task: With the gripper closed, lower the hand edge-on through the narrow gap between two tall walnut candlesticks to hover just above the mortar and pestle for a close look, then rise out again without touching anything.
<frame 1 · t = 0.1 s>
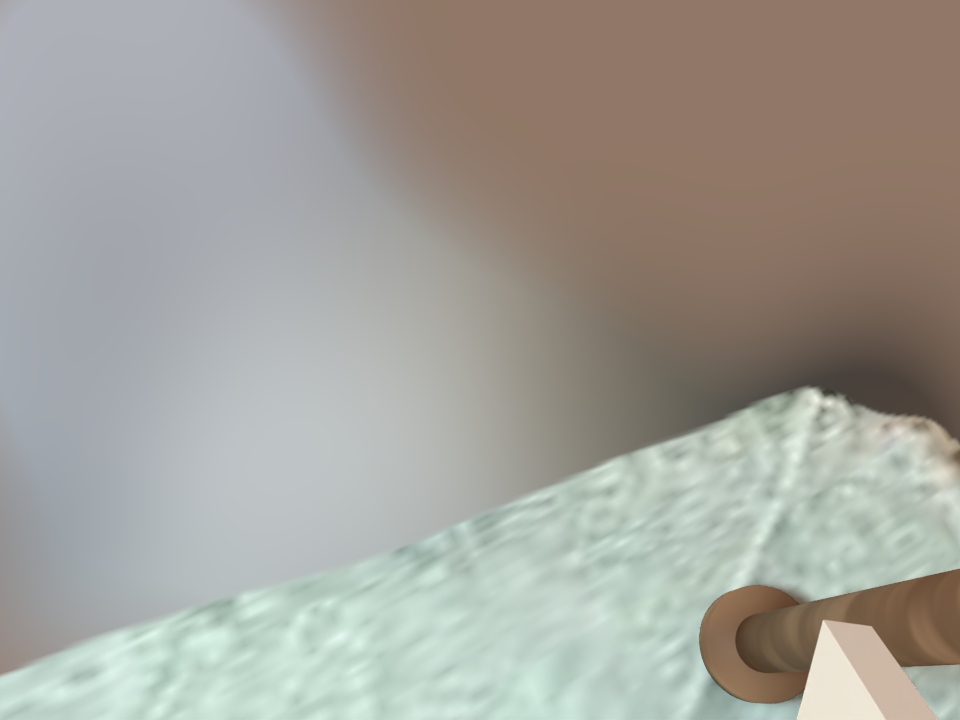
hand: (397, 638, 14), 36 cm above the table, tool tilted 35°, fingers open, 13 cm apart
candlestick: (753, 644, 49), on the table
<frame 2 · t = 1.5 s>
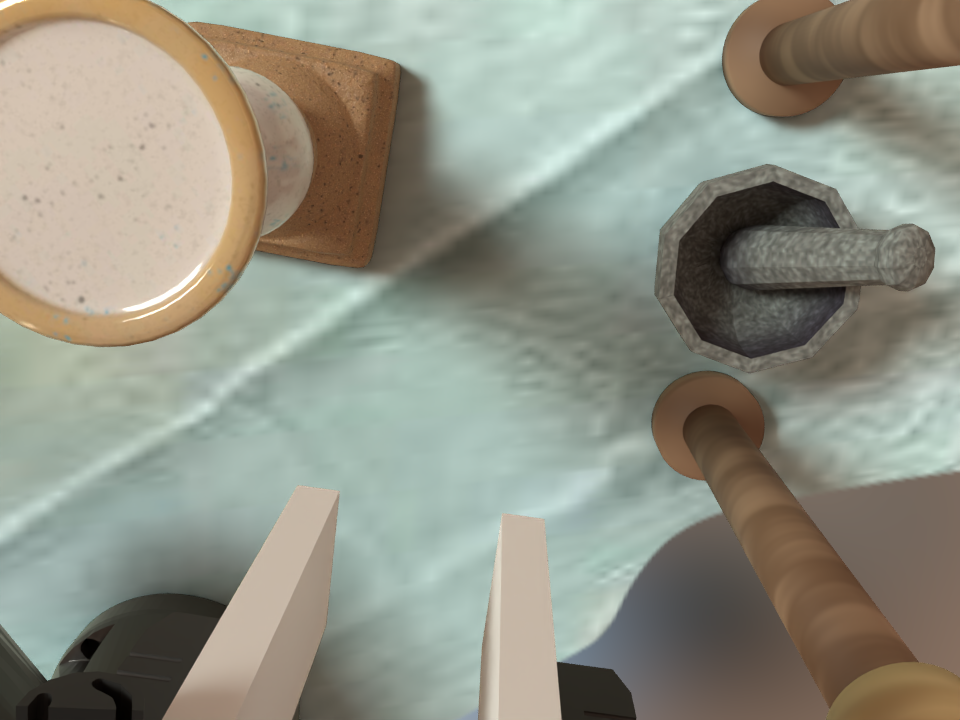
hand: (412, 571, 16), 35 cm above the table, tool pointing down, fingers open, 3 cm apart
candle holder: (287, 147, 48), on the table
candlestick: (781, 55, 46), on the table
mortar and pestle: (739, 247, 49), on the table
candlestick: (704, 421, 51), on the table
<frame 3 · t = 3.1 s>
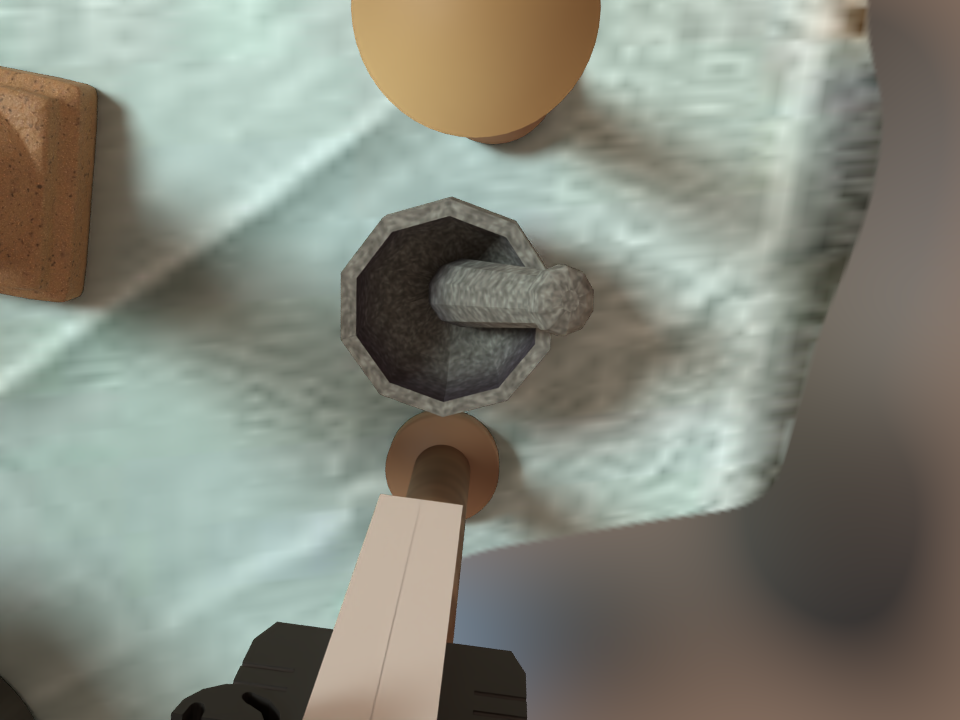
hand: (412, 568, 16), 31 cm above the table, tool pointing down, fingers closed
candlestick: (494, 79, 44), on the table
mortar and pestle: (467, 280, 47), on the table
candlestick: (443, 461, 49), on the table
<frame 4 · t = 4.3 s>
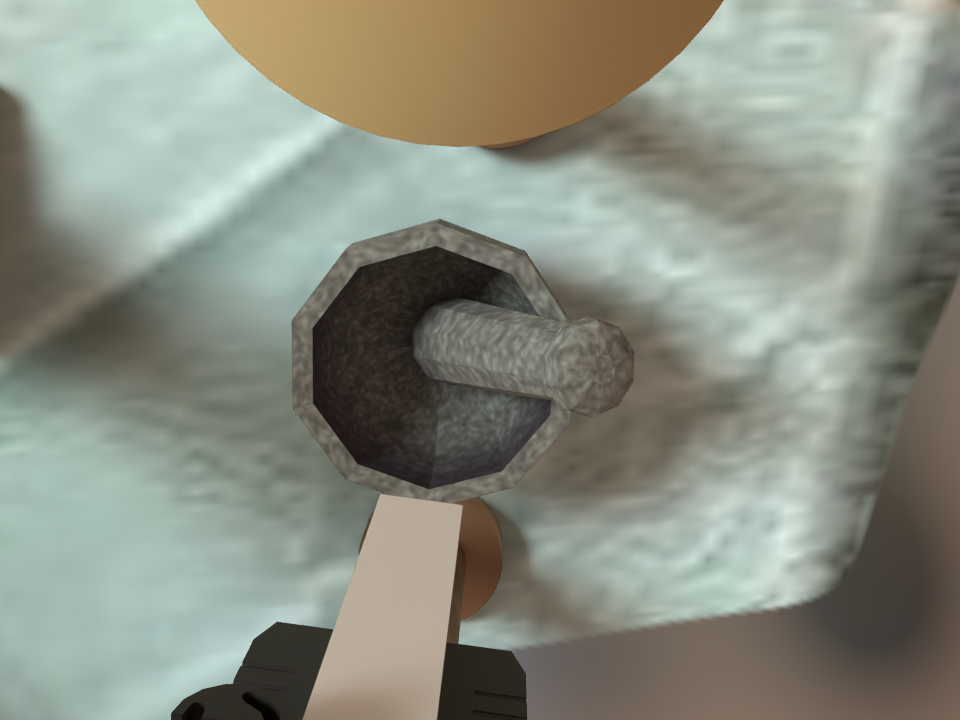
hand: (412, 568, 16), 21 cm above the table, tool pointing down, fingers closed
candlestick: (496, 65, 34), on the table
mortar and pestle: (462, 320, 37), on the table
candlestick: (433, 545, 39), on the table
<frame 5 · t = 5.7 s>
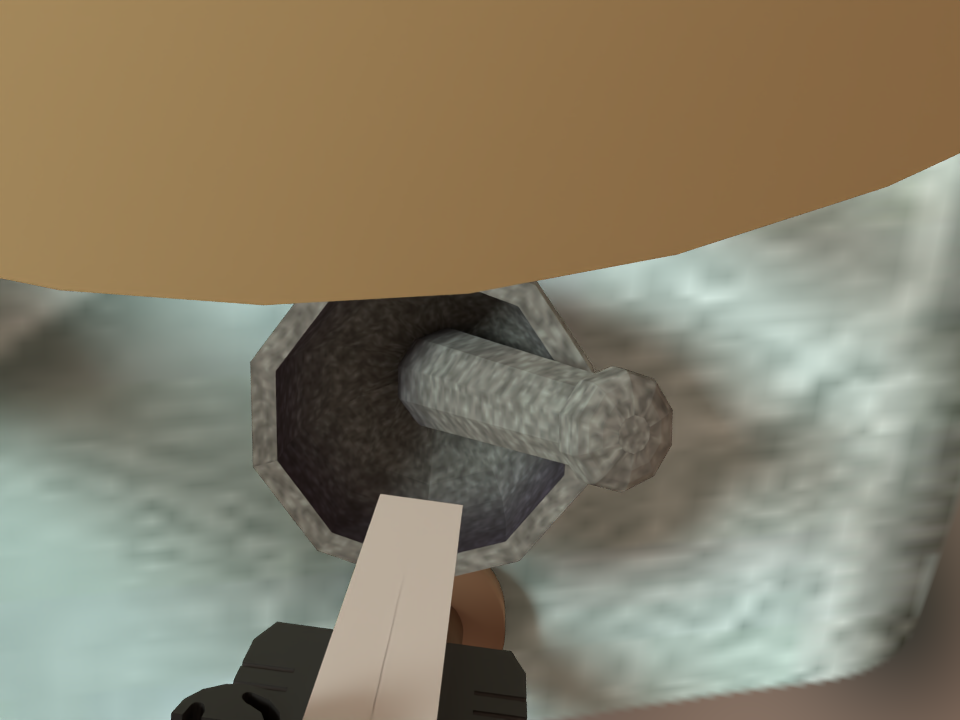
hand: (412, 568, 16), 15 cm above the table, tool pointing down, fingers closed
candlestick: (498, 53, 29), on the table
mortar and pestle: (459, 352, 31), on the table
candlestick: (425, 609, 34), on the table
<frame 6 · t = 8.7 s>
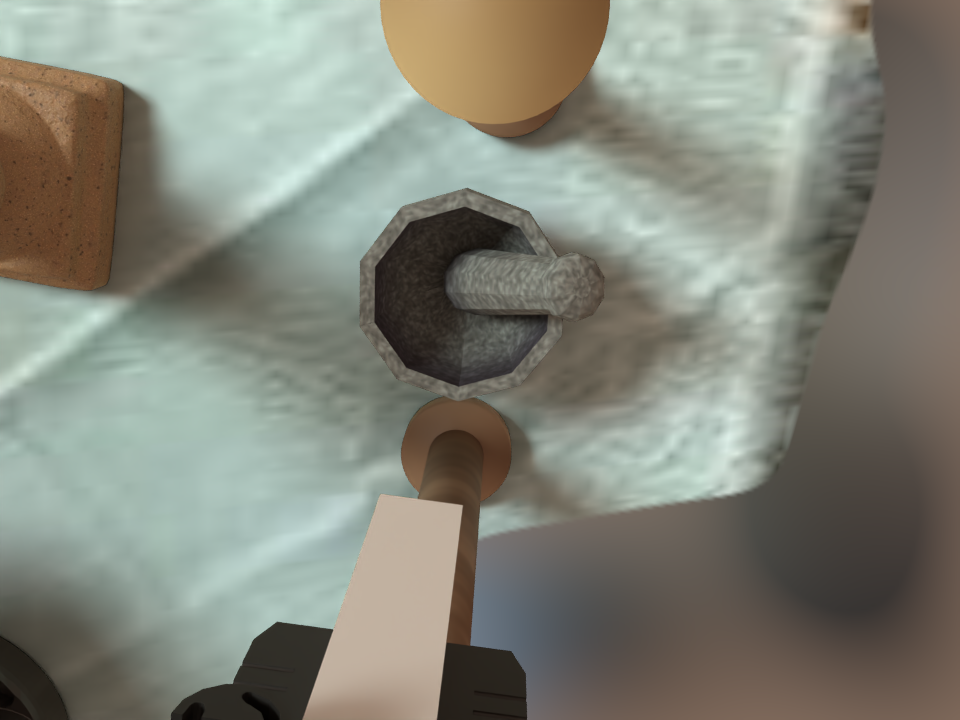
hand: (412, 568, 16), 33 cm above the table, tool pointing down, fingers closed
candle holder: (17, 167, 48), on the table
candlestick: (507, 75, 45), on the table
mortar and pestle: (481, 269, 48), on the table
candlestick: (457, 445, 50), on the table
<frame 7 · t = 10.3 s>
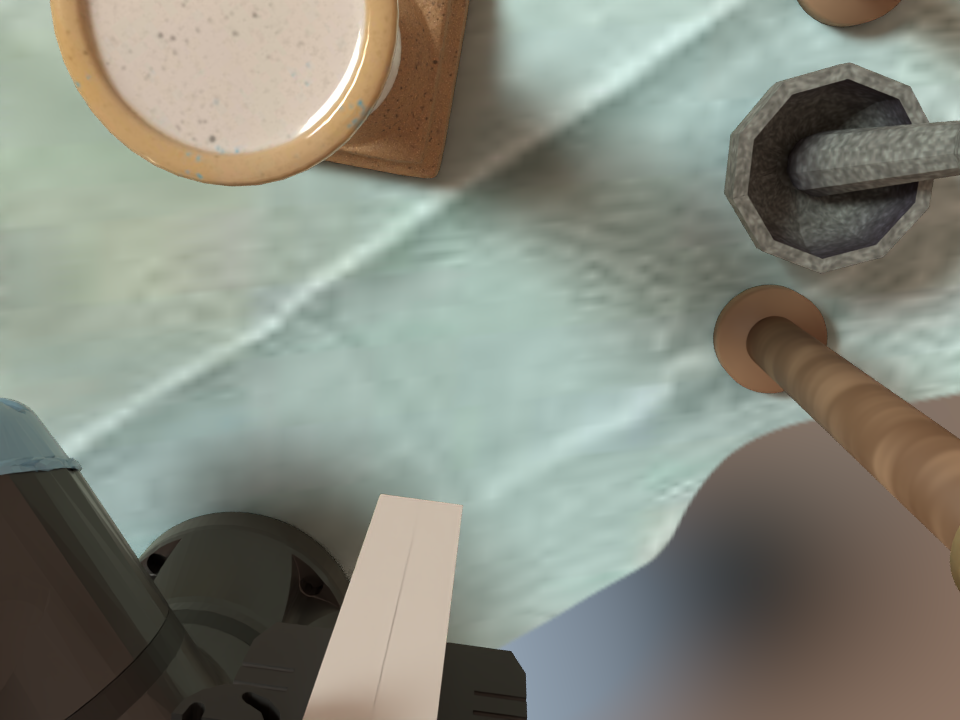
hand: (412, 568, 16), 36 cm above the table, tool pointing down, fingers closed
candle holder: (357, 60, 49), on the table
mortar and pestle: (803, 160, 50), on the table
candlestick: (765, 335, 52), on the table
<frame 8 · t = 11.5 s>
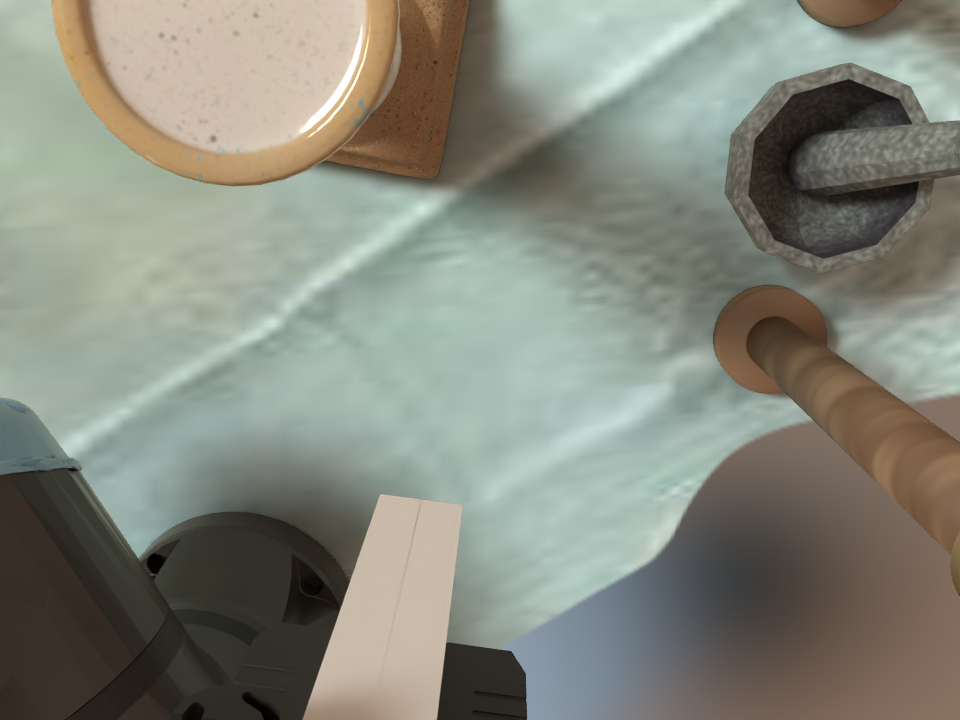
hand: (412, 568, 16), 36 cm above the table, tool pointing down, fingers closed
candle holder: (357, 60, 49), on the table
mortar and pestle: (803, 160, 50), on the table
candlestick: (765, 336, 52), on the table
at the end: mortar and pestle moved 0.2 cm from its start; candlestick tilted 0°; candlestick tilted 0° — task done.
